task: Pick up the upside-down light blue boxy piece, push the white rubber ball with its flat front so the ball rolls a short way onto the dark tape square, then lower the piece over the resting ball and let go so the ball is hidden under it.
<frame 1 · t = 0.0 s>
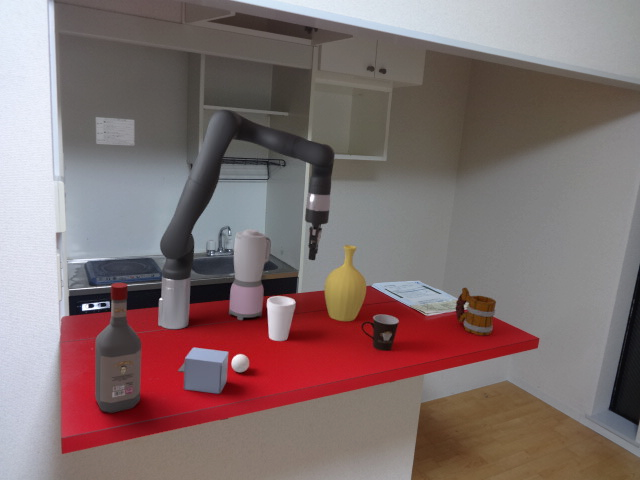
hand: (312, 256, 163), 29 cm above the table, tool pointing down, fingers open, 8 cm apart
vase: (342, 316, 195), on the table
ball: (240, 363, 143), on the table
liquor: (117, 402, 122), on the table
mug: (471, 328, 196), on the table
light blue boxy piece: (205, 385, 134), on the table
foam cup: (278, 337, 169), on the table
coffee mug: (377, 346, 171), on the table
blender: (248, 314, 188), on the table
tape square: (198, 366, 144), on the table
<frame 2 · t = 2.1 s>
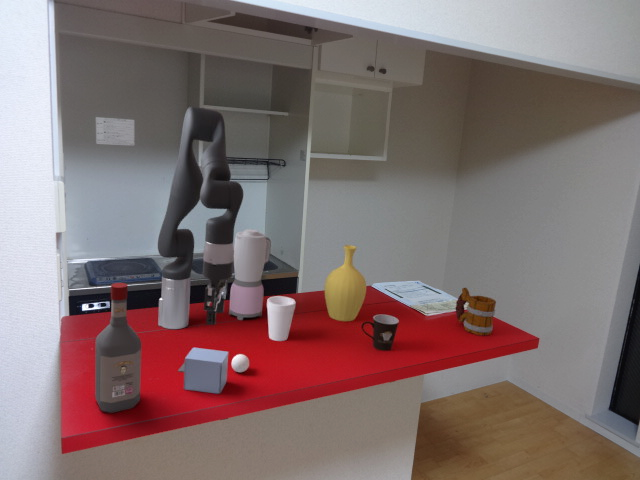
hand: (215, 318, 131), 19 cm above the table, tool pointing down, fingers open, 8 cm apart
nothing on the table moved.
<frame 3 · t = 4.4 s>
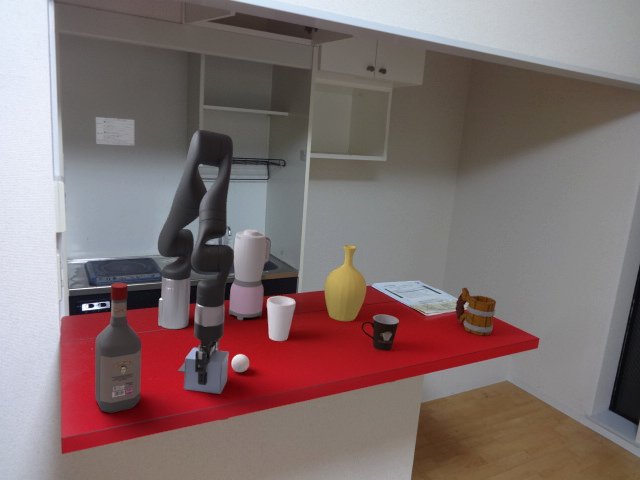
hand: (206, 377, 134), 2 cm above the table, tool pointing down, fingers closed on light blue boxy piece, 6 cm apart
light blue boxy piece: (205, 385, 134), on the table, touching gripper
everything else where it was.
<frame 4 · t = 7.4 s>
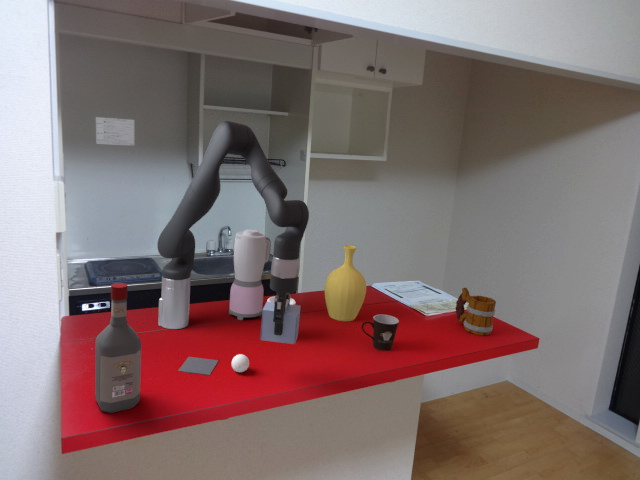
hand: (280, 329, 140), 14 cm above the table, tool pointing down, fingers closed on light blue boxy piece, 6 cm apart
light blue boxy piece: (279, 337, 140), point 12 cm above the table, touching gripper
everything else where it was.
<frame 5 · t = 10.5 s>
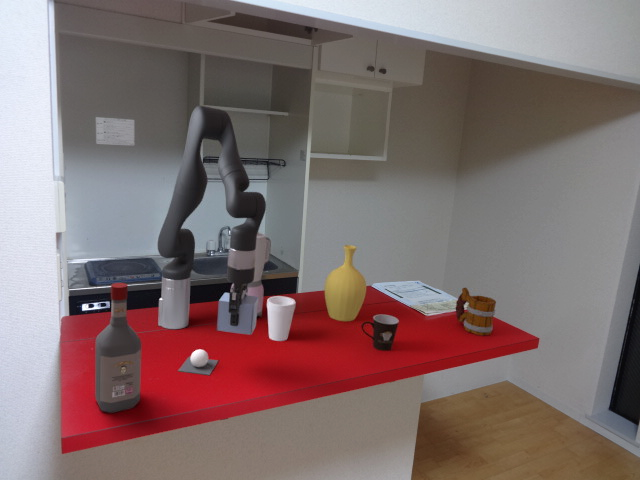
hand: (237, 320, 141), 15 cm above the table, tool pointing down, fingers closed on light blue boxy piece, 6 cm apart
ball: (199, 358, 143), on the table
light blue boxy piece: (236, 327, 141), point 13 cm above the table, touching gripper
everything else where it was.
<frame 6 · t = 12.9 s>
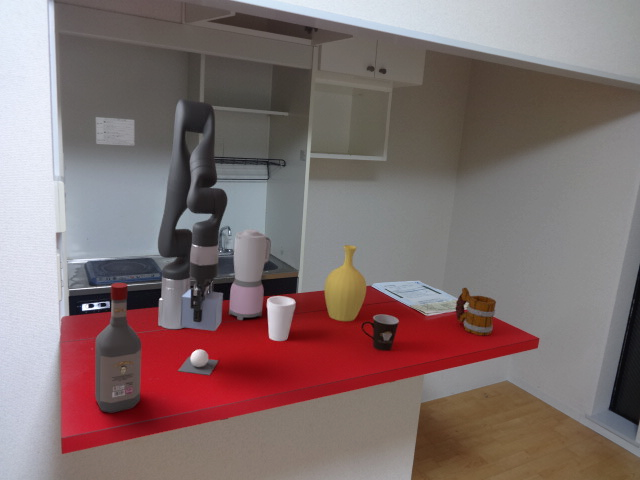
hand: (201, 316, 141), 15 cm above the table, tool pointing down, fingers closed on light blue boxy piece, 6 cm apart
light blue boxy piece: (201, 324, 141), point 13 cm above the table, touching gripper
everything else where it was.
when the fingers open (3 cm above the table, at t = 15.3 s): light blue boxy piece stays where it is, on the table.
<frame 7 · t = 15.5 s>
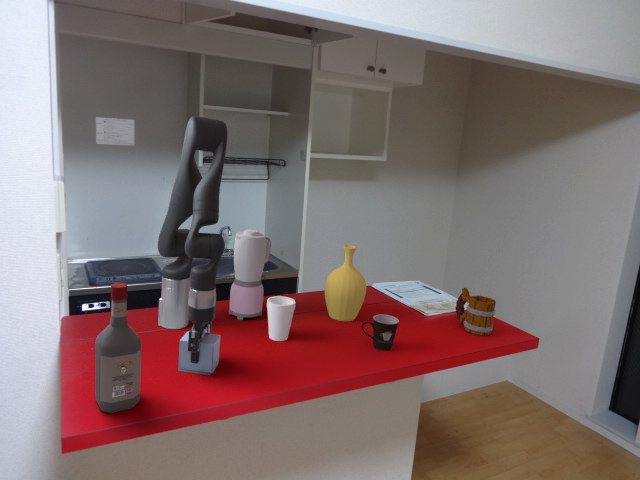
hand: (199, 356, 143), 3 cm above the table, tool pointing down, fingers open, 8 cm apart
light blue boxy piece: (199, 366, 144), on the table
everything else where it was.
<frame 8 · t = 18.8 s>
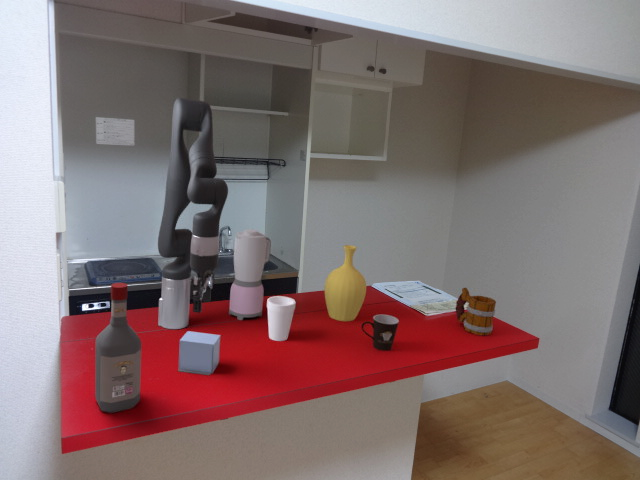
hand: (201, 306, 140), 18 cm above the table, tool pointing down, fingers open, 8 cm apart
nothing on the table moved.
at the end: ball 0.1 cm from the light blue boxy piece (horizontally); light blue boxy piece on the table; ball moved 11.9 cm from its start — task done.
